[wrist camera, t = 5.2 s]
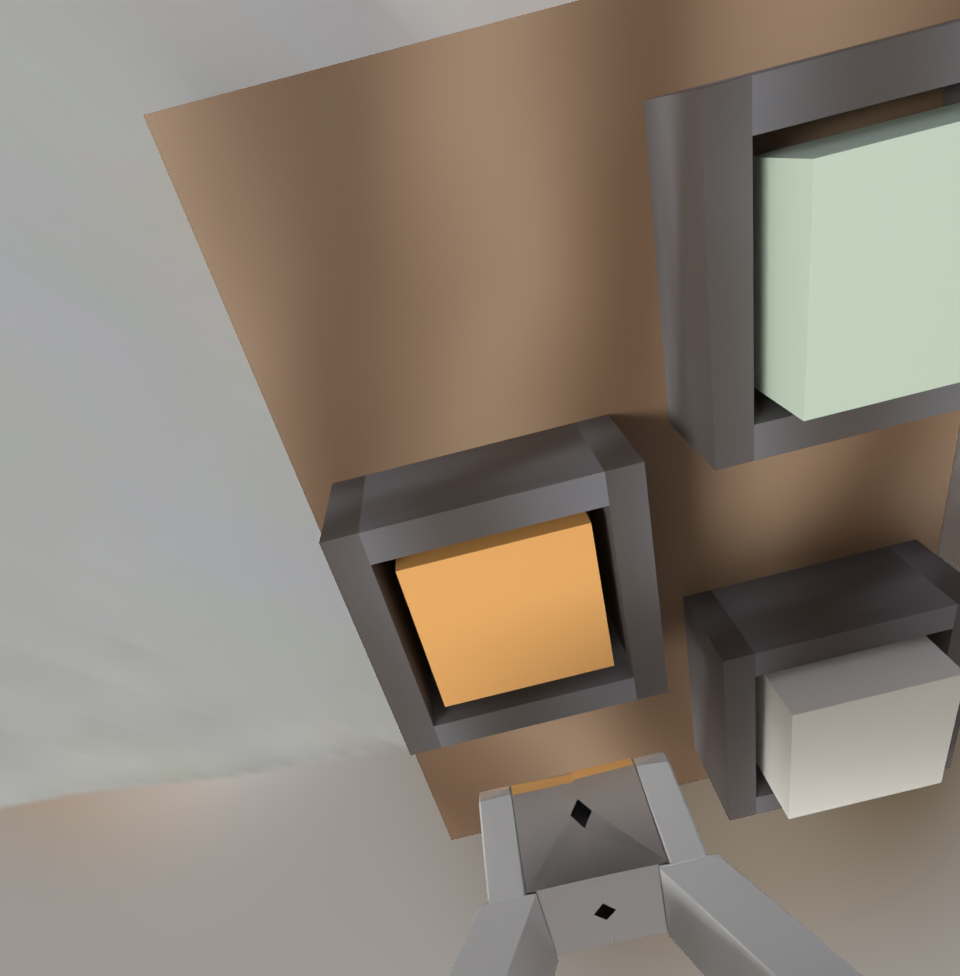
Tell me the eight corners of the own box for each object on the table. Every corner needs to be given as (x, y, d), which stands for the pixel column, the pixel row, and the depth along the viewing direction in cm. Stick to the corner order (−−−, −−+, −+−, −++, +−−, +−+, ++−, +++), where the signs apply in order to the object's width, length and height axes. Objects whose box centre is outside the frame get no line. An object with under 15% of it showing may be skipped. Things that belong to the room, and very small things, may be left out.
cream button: (906, 617, 16) (965, 673, 15) (890, 722, 18) (941, 782, 17) (751, 655, 17) (792, 715, 15) (752, 756, 19) (788, 819, 17)
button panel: (962, -86, 12) (1226, -197, 8) (868, 686, 23) (963, 797, 19) (179, 119, 12) (76, 106, 9) (448, 788, 23) (456, 918, 19)
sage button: (987, 95, 11) (1102, 84, 9) (950, 333, 13) (1038, 362, 11) (746, 157, 11) (813, 159, 9) (748, 383, 13) (803, 421, 11)
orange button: (569, 478, 15) (591, 523, 13) (592, 611, 17) (614, 665, 15) (396, 521, 15) (395, 571, 13) (441, 648, 17) (445, 706, 15)
